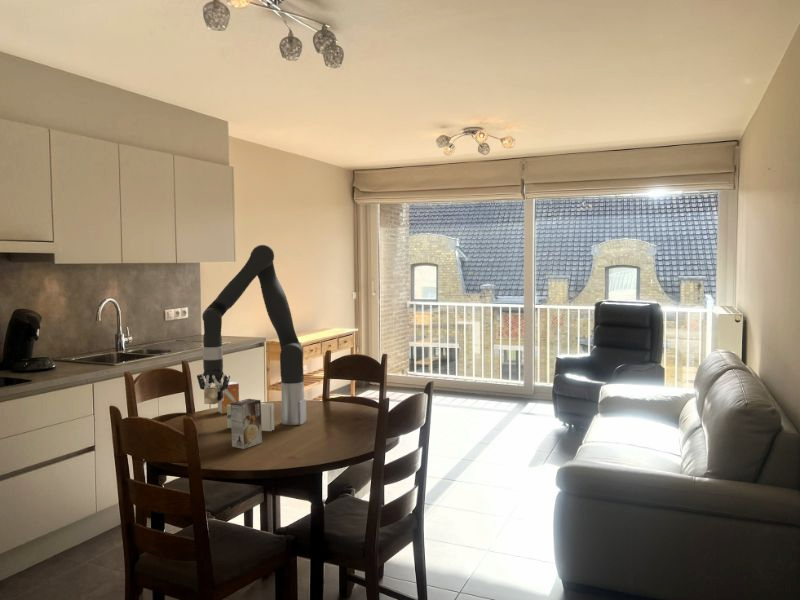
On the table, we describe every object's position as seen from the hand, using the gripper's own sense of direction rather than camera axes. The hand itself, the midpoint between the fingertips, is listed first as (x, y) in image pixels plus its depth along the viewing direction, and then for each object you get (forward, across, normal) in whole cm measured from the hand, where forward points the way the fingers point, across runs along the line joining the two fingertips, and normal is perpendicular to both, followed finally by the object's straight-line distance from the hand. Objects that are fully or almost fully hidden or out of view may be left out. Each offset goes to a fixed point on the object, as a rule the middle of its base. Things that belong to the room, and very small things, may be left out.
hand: (214, 399), depth 247 cm
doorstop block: (+1, 0, 0) cm, 1 cm away
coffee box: (+12, -24, +18) cm, 32 cm away
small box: (+12, +11, -30) cm, 34 cm away
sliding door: (+12, -10, -3) cm, 16 cm away
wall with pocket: (+12, -20, -3) cm, 23 cm away
